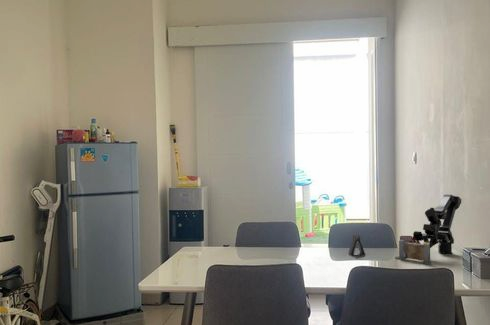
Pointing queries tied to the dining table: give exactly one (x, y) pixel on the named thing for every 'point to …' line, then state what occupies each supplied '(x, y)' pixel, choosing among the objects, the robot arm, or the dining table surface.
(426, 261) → the gate posts
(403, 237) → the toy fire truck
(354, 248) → the phone stand
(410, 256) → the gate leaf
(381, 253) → the dining table surface
